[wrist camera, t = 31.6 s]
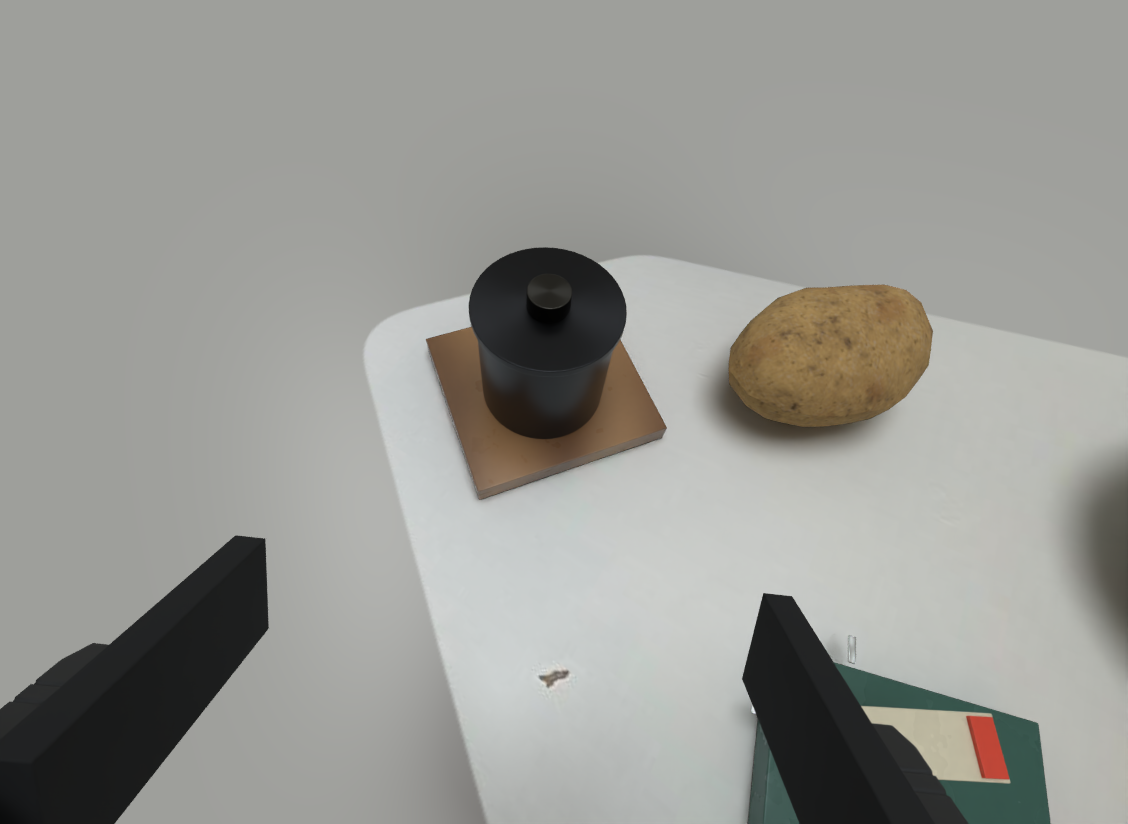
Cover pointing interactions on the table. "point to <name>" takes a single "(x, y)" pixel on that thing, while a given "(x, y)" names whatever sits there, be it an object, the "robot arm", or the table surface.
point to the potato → (831, 354)
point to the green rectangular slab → (993, 810)
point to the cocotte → (545, 338)
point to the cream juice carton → (949, 741)
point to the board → (520, 459)
